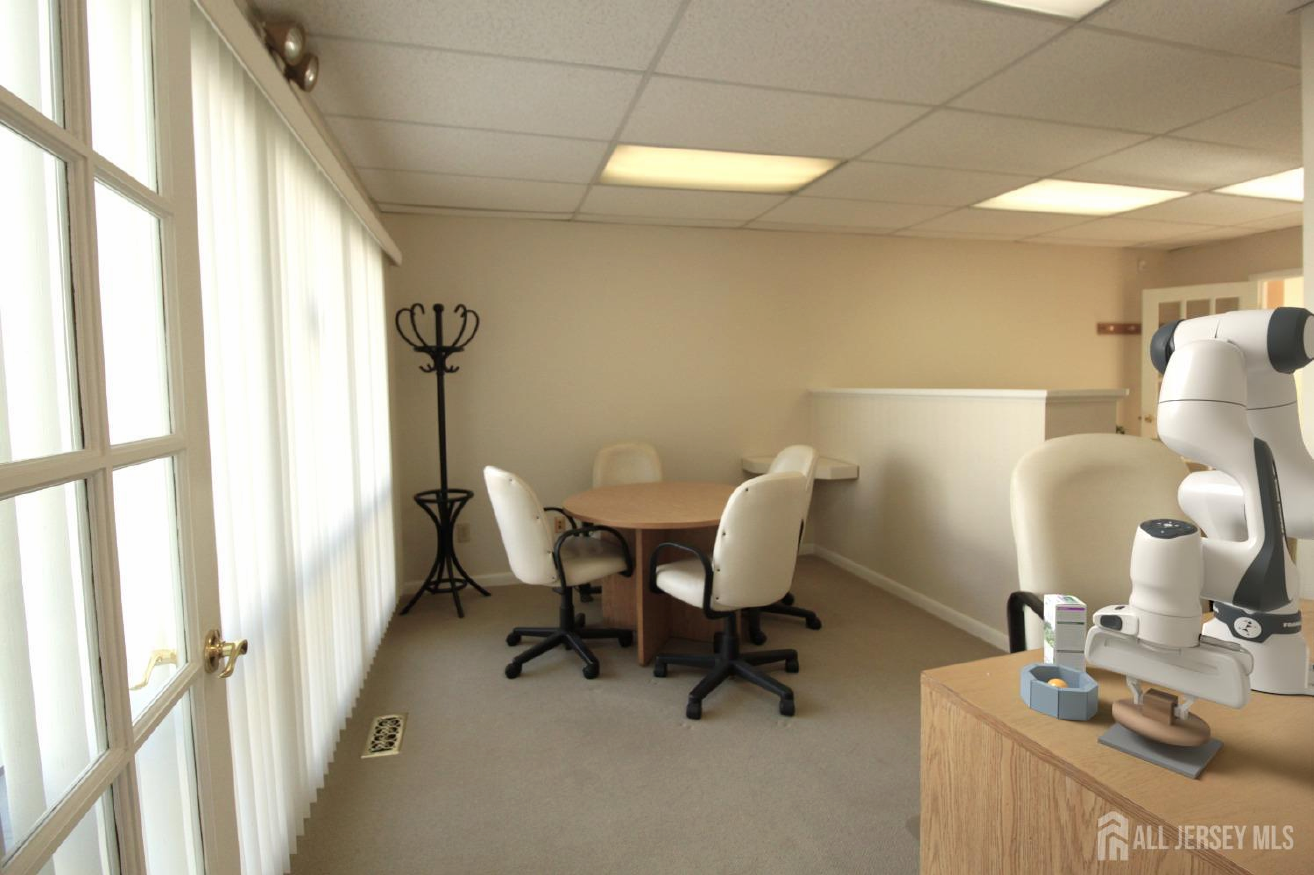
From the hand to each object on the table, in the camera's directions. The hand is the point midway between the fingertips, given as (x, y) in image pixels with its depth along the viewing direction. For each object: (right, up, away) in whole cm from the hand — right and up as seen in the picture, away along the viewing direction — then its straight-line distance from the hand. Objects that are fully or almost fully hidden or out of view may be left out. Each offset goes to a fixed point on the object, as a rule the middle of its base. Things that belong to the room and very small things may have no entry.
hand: (1160, 711), depth 98 cm
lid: (0, -2, 0) cm, 2 cm away
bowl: (-8, -4, +13) cm, 16 cm away
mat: (0, -5, 0) cm, 5 cm away
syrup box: (+2, -3, +26) cm, 26 cm away
